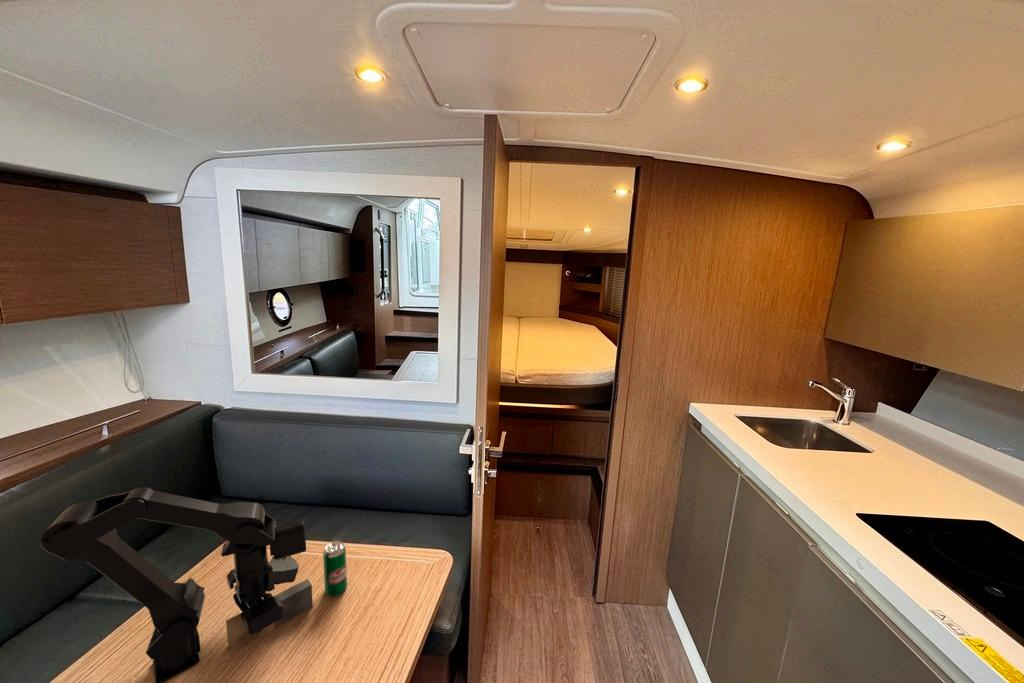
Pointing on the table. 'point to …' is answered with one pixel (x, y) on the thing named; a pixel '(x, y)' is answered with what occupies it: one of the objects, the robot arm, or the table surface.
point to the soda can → (335, 568)
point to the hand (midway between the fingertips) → (256, 627)
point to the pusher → (293, 604)
